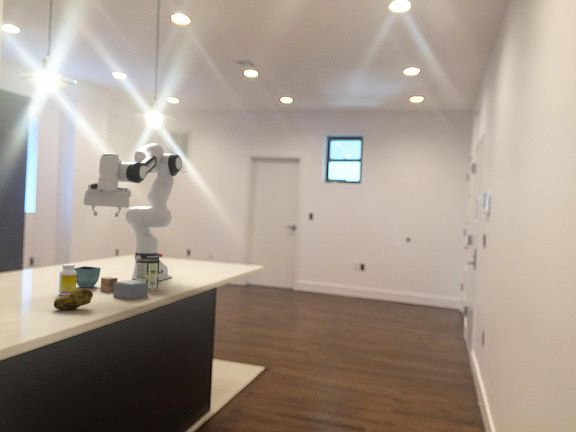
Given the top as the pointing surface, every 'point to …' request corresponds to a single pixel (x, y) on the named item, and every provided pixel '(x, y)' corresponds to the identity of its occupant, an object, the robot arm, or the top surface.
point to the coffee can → (148, 272)
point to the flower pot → (87, 276)
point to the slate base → (130, 289)
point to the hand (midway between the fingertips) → (106, 216)
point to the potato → (74, 299)
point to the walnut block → (108, 284)
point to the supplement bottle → (67, 279)
